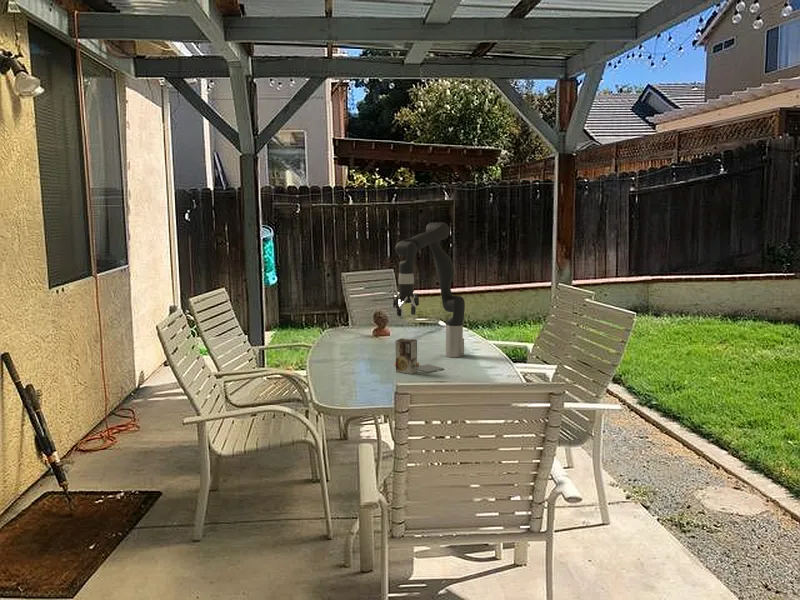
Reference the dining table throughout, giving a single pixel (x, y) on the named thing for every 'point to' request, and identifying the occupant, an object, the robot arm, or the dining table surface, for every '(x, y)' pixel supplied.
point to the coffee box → (406, 355)
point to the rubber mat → (428, 368)
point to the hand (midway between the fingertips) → (406, 315)
